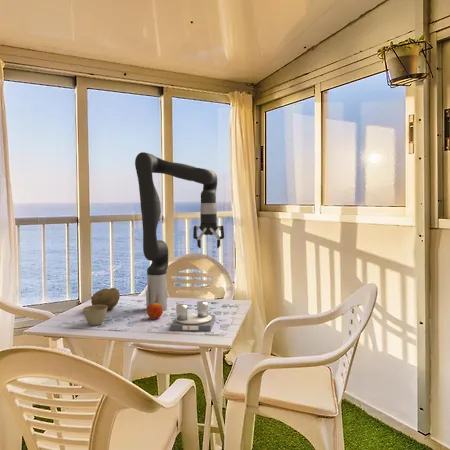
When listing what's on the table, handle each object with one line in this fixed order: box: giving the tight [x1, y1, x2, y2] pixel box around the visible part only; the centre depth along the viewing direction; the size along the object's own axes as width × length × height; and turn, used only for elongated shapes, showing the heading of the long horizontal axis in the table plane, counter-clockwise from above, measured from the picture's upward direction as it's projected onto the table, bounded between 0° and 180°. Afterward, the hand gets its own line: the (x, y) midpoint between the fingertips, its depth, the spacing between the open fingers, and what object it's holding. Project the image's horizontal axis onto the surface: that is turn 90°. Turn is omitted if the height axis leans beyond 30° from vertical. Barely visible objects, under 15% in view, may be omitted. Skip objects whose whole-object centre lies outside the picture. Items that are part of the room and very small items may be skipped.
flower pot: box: [82, 304, 108, 326], centre depth 174 cm, size 10×10×7 cm
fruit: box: [146, 301, 164, 320], centre depth 182 cm, size 7×7×8 cm
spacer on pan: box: [175, 303, 188, 321], centre depth 169 cm, size 4×4×6 cm
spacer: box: [196, 300, 209, 318], centre depth 174 cm, size 4×4×6 cm
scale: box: [170, 312, 216, 332], centre depth 171 cm, size 16×17×3 cm
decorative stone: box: [90, 287, 121, 311], centre depth 198 cm, size 17×11×10 cm, turn 164°
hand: (208, 248), depth 191 cm, fingers open, 8 cm apart
